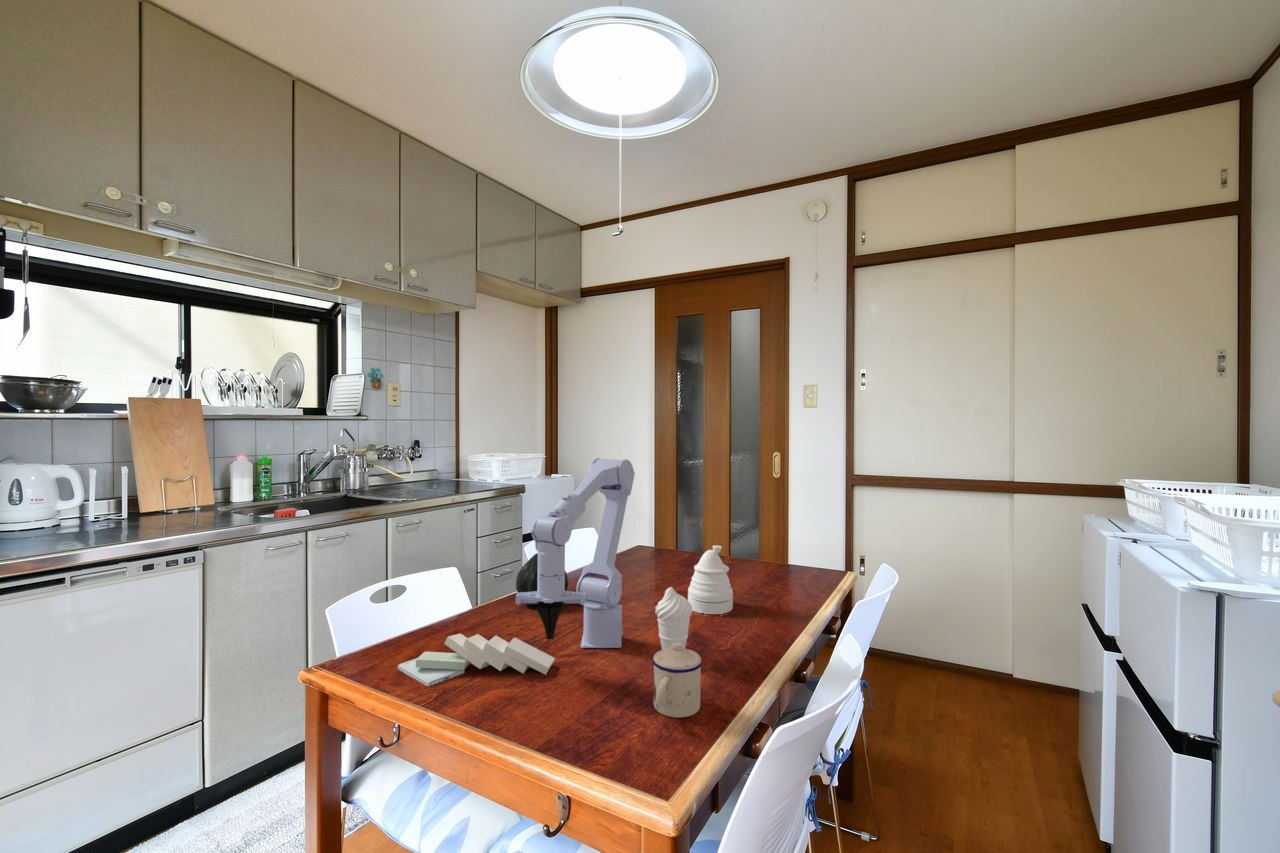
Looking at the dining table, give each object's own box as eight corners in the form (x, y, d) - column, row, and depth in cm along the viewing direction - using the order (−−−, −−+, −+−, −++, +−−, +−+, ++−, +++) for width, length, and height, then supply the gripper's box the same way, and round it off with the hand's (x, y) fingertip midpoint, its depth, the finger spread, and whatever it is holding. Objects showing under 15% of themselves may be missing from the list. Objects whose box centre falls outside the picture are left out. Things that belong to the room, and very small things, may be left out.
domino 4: (534, 657, 119) (495, 635, 121) (526, 666, 114) (485, 643, 116) (531, 664, 119) (492, 641, 121) (523, 673, 114) (482, 649, 116)
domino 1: (471, 653, 119) (424, 651, 119) (464, 662, 114) (416, 659, 114) (470, 661, 119) (423, 659, 119) (464, 670, 114) (415, 667, 114)
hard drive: (397, 664, 117) (428, 681, 109) (433, 652, 123) (464, 668, 115) (397, 672, 117) (427, 690, 109) (433, 660, 123) (464, 676, 115)
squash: (555, 595, 151) (564, 546, 161) (503, 594, 153) (516, 546, 163) (567, 617, 161) (575, 570, 171) (518, 615, 163) (529, 569, 173)
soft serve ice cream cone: (695, 654, 125) (696, 584, 125) (686, 670, 117) (687, 594, 118) (660, 649, 128) (661, 580, 128) (649, 664, 120) (650, 590, 120)
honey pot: (739, 606, 160) (740, 544, 160) (721, 619, 149) (722, 552, 149) (699, 598, 167) (700, 539, 167) (679, 610, 156) (680, 546, 156)
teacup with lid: (664, 690, 108) (664, 631, 108) (708, 701, 104) (709, 639, 104) (636, 719, 97) (637, 653, 97) (684, 732, 93) (685, 663, 93)
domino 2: (495, 657, 119) (460, 633, 122) (483, 662, 115) (447, 636, 118) (491, 664, 119) (457, 639, 122) (480, 669, 115) (444, 643, 118)
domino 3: (514, 657, 119) (477, 633, 122) (503, 664, 114) (465, 639, 117) (511, 664, 119) (474, 640, 122) (500, 671, 114) (462, 645, 117)
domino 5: (555, 658, 119) (514, 637, 120) (548, 667, 114) (506, 646, 115) (552, 664, 119) (511, 643, 120) (545, 674, 114) (503, 652, 115)
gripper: (513, 578, 113) (512, 644, 113) (584, 578, 113) (583, 644, 113) (519, 569, 120) (518, 631, 120) (586, 569, 120) (585, 631, 120)
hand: (550, 637), depth 117 cm, fingers closed
